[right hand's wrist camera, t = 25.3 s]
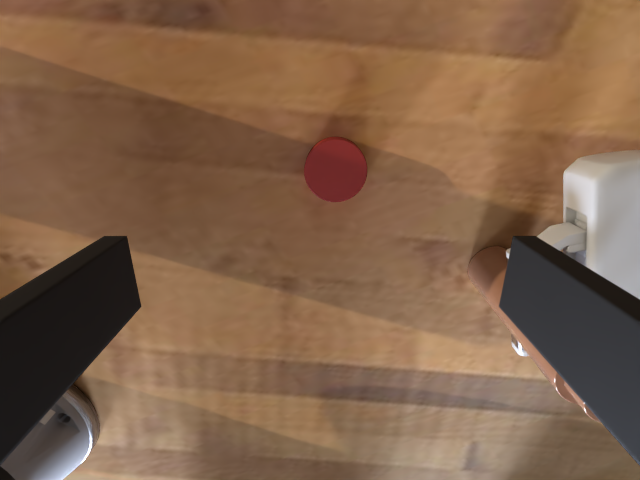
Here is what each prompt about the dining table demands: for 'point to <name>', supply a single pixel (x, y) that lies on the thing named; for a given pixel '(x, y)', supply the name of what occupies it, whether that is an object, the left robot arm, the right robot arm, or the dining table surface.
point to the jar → (489, 282)
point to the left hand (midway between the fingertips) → (512, 304)
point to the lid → (335, 169)
